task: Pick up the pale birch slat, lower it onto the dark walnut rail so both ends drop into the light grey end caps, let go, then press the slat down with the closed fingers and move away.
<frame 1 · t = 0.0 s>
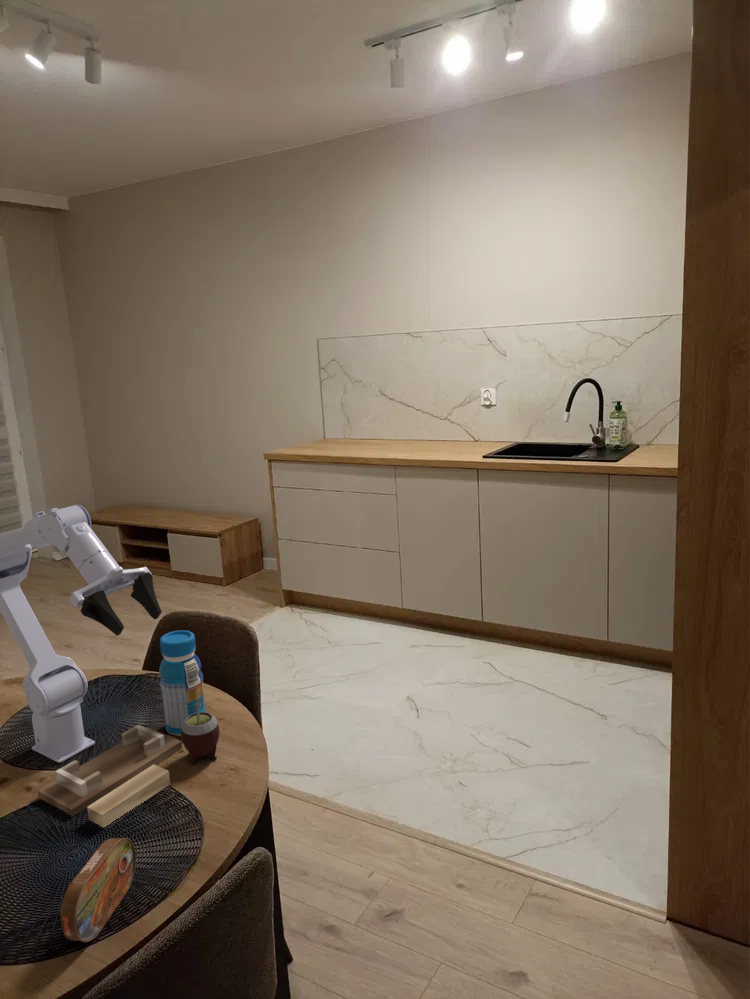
hand: (139, 623, 121), 32 cm above the table, tool tilted 50°, fingers open, 7 cm apart
tin: (103, 912, 103), on the table
mate gourd: (203, 758, 139), on the table
slat: (131, 803, 127), on the table
endcap rail: (114, 771, 135), on the table
beverage bottle: (186, 727, 150), on the table
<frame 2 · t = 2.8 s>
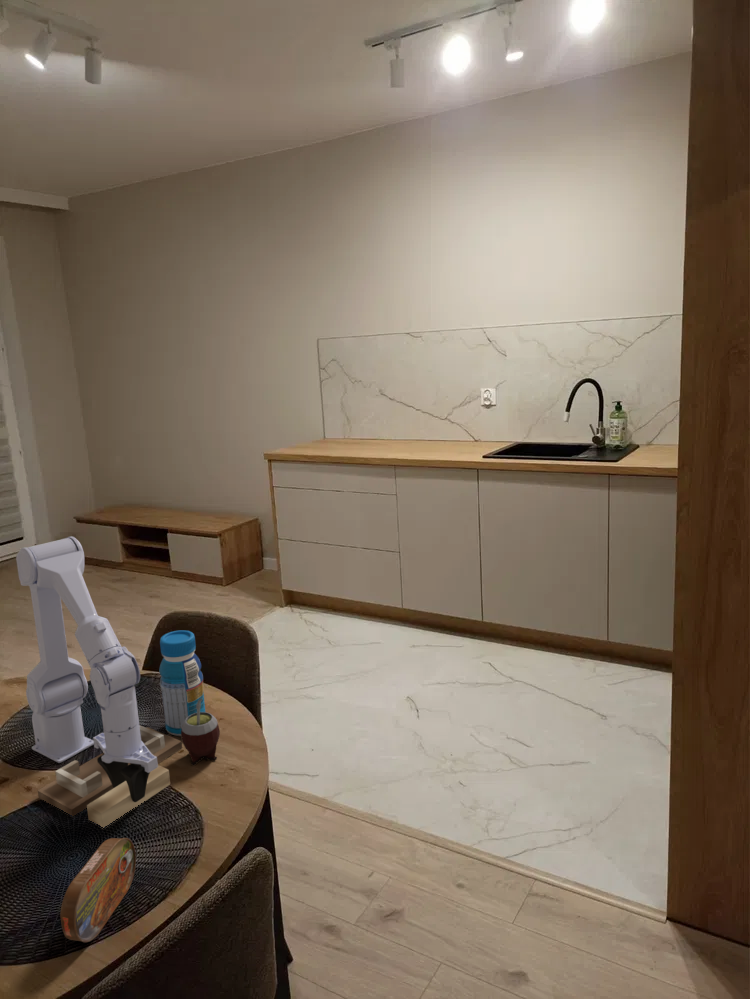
hand: (130, 794, 126), 1 cm above the table, tool pointing down, fingers closed on slat, 4 cm apart
slat: (131, 802, 126), on the table, touching gripper
everything else where it was.
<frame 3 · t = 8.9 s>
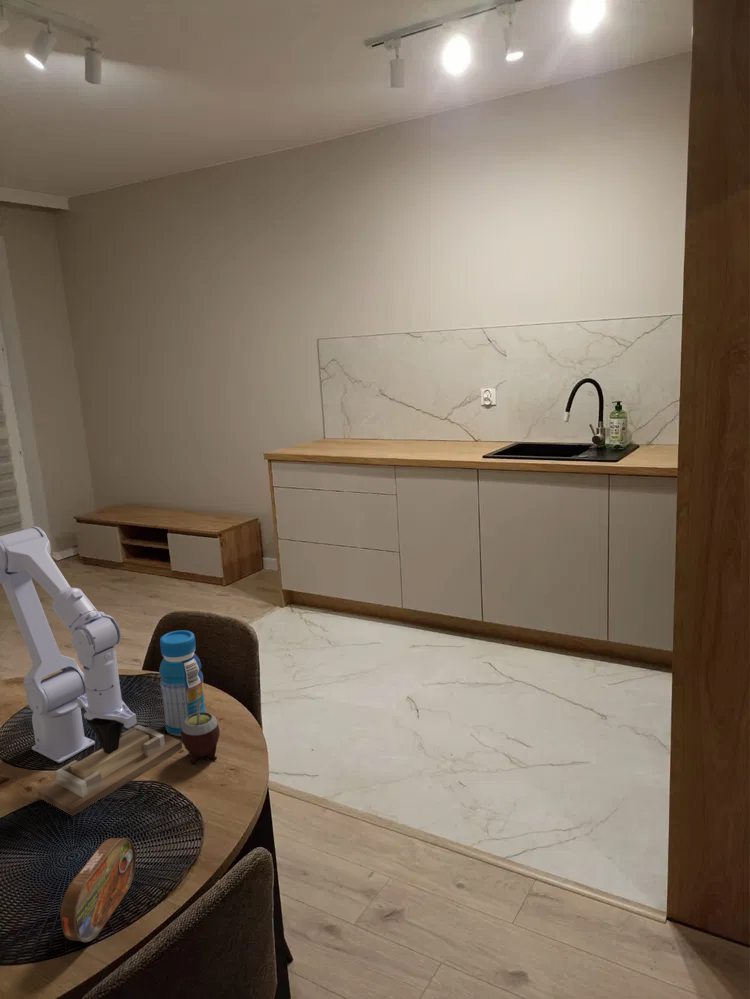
hand: (111, 750, 134), 4 cm above the table, tool pointing down, fingers closed, pressing on slat
slat: (113, 764, 135), point 1 cm above the table, touching endcap rail, gripper
everything else where it was.
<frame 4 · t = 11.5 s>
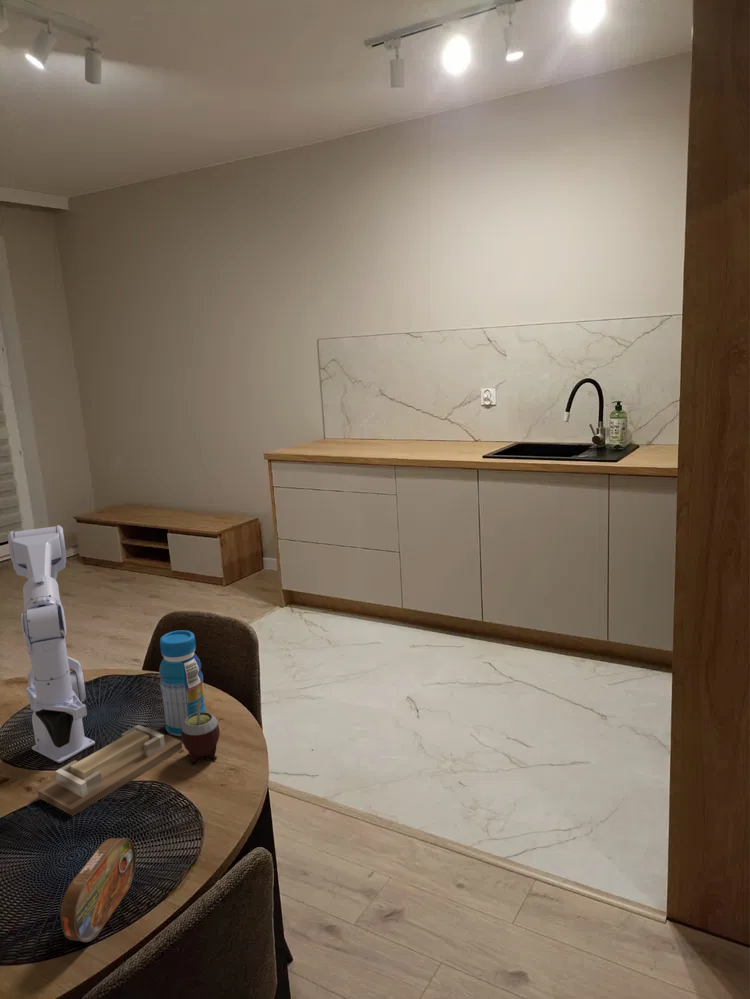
hand: (62, 744, 128), 9 cm above the table, tool pointing down, fingers closed
slat: (113, 764, 135), point 1 cm above the table, touching endcap rail
everything else where it was.
at the end: slat 0.0 cm off-centre on the endcap rail, point 1.5 cm above the endcap rail's base; slat tilted 0°; the gripper is holding nothing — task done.
